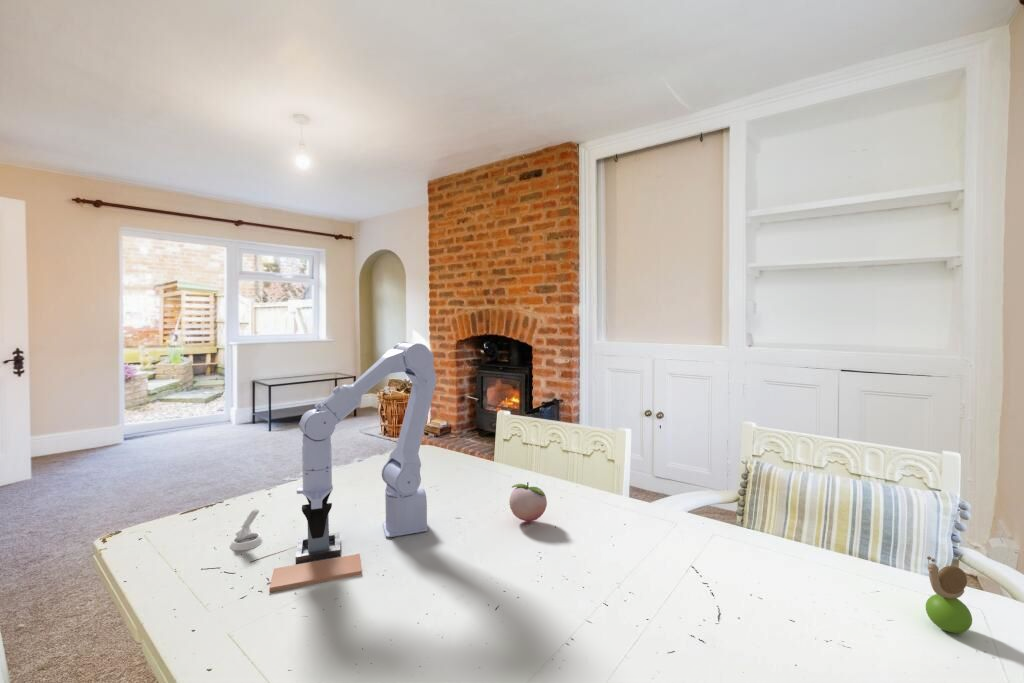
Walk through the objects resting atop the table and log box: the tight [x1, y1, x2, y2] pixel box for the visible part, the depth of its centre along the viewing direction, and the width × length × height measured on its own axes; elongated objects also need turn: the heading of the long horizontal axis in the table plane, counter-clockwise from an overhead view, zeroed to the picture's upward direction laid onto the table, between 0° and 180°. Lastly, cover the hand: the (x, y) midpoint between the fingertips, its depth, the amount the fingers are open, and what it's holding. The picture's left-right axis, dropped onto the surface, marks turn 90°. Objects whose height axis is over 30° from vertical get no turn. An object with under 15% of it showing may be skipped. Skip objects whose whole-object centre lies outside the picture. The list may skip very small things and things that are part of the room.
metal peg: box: [307, 515, 330, 553], centre depth 99 cm, size 4×4×8 cm
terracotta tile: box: [269, 553, 363, 593], centre depth 91 cm, size 16×7×1 cm, turn 111°
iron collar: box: [295, 532, 341, 565], centre depth 99 cm, size 8×8×2 cm
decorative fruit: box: [509, 481, 548, 523], centre depth 113 cm, size 9×8×10 cm
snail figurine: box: [925, 555, 973, 634], centre depth 74 cm, size 5×6×12 cm
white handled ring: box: [229, 507, 264, 551], centre depth 102 cm, size 6×10×6 cm
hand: (318, 529), depth 99 cm, fingers open, 7 cm apart
